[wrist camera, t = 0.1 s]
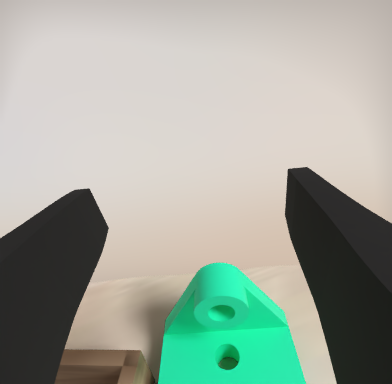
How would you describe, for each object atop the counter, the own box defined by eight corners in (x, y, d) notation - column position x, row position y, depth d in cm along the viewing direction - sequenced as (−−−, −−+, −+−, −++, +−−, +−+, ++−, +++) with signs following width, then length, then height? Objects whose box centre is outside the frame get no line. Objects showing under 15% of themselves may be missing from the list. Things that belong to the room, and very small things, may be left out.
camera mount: (161, 425, 21) (127, 364, 16) (170, 334, 28) (148, 268, 22) (309, 420, 20) (326, 352, 15) (282, 326, 27) (287, 256, 22)
